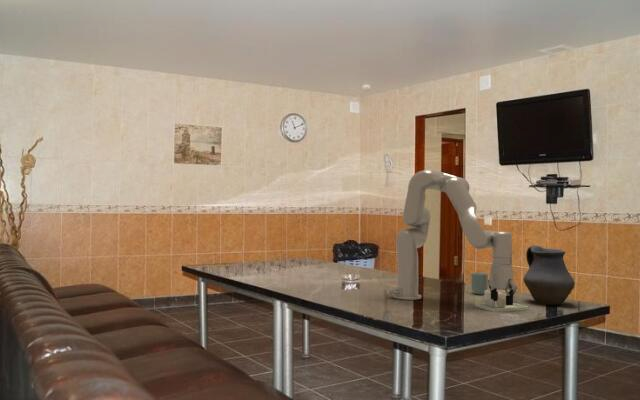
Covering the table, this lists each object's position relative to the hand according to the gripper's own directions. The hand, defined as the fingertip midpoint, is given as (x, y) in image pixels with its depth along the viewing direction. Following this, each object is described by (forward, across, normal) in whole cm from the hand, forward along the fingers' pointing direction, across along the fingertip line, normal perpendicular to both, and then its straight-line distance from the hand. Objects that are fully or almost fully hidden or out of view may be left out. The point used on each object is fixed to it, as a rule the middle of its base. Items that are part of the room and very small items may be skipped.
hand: (501, 303), depth 221 cm
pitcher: (+3, -5, +28) cm, 28 cm away
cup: (+3, -34, +14) cm, 37 cm away
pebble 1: (+2, 0, -6) cm, 6 cm away
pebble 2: (+2, -14, +10) cm, 17 cm away
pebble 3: (+2, 0, 0) cm, 2 cm away
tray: (+2, 0, 0) cm, 2 cm away
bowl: (+2, -13, +9) cm, 16 cm away
